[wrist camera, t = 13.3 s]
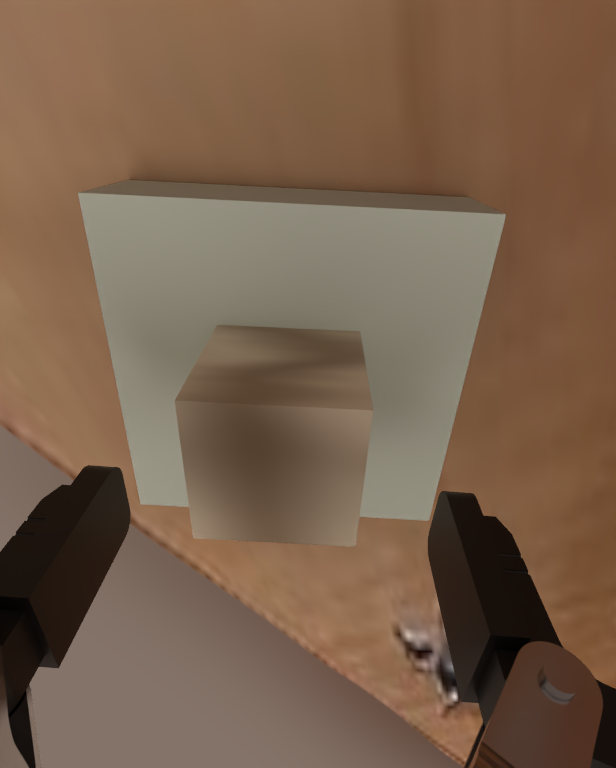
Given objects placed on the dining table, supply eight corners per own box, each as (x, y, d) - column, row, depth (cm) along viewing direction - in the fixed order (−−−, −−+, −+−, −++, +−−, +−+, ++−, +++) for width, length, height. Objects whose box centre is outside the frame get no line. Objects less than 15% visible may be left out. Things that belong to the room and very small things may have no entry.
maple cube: (359, 331, 15) (373, 410, 11) (348, 445, 18) (355, 546, 14) (217, 324, 15) (174, 400, 11) (225, 439, 18) (193, 538, 14)
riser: (468, 197, 17) (506, 214, 13) (413, 462, 23) (428, 520, 20) (128, 179, 17) (78, 192, 13) (168, 448, 23) (140, 504, 20)
